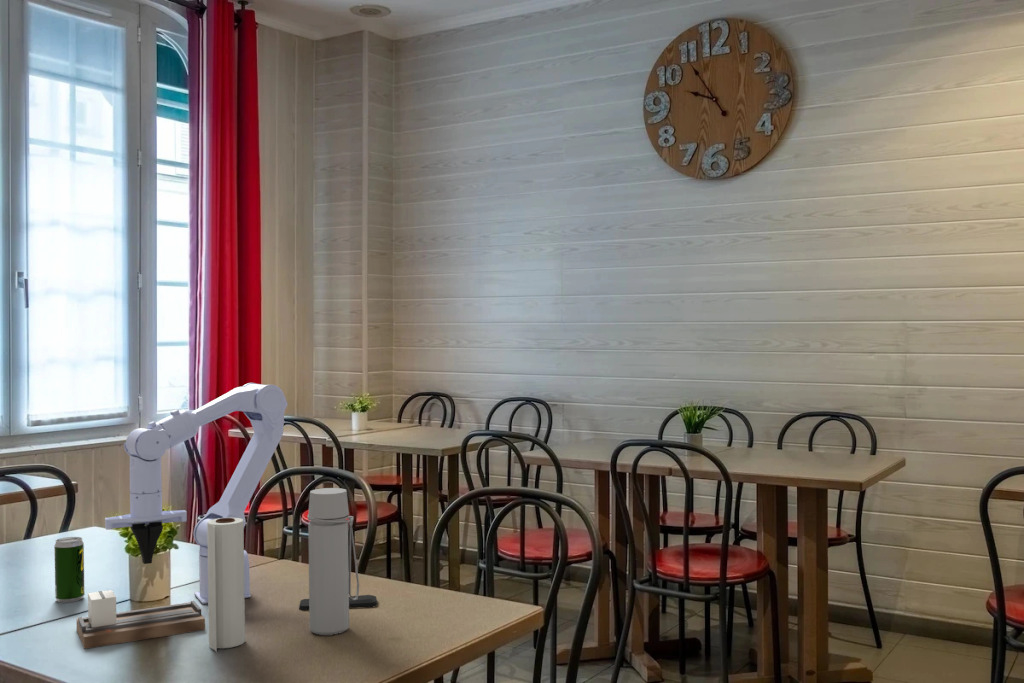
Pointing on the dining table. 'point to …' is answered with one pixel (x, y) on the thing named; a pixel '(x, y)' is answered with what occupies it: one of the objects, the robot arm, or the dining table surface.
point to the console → (143, 625)
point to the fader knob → (101, 608)
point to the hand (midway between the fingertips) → (147, 562)
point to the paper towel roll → (226, 582)
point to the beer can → (69, 569)
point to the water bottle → (329, 561)
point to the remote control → (360, 602)
